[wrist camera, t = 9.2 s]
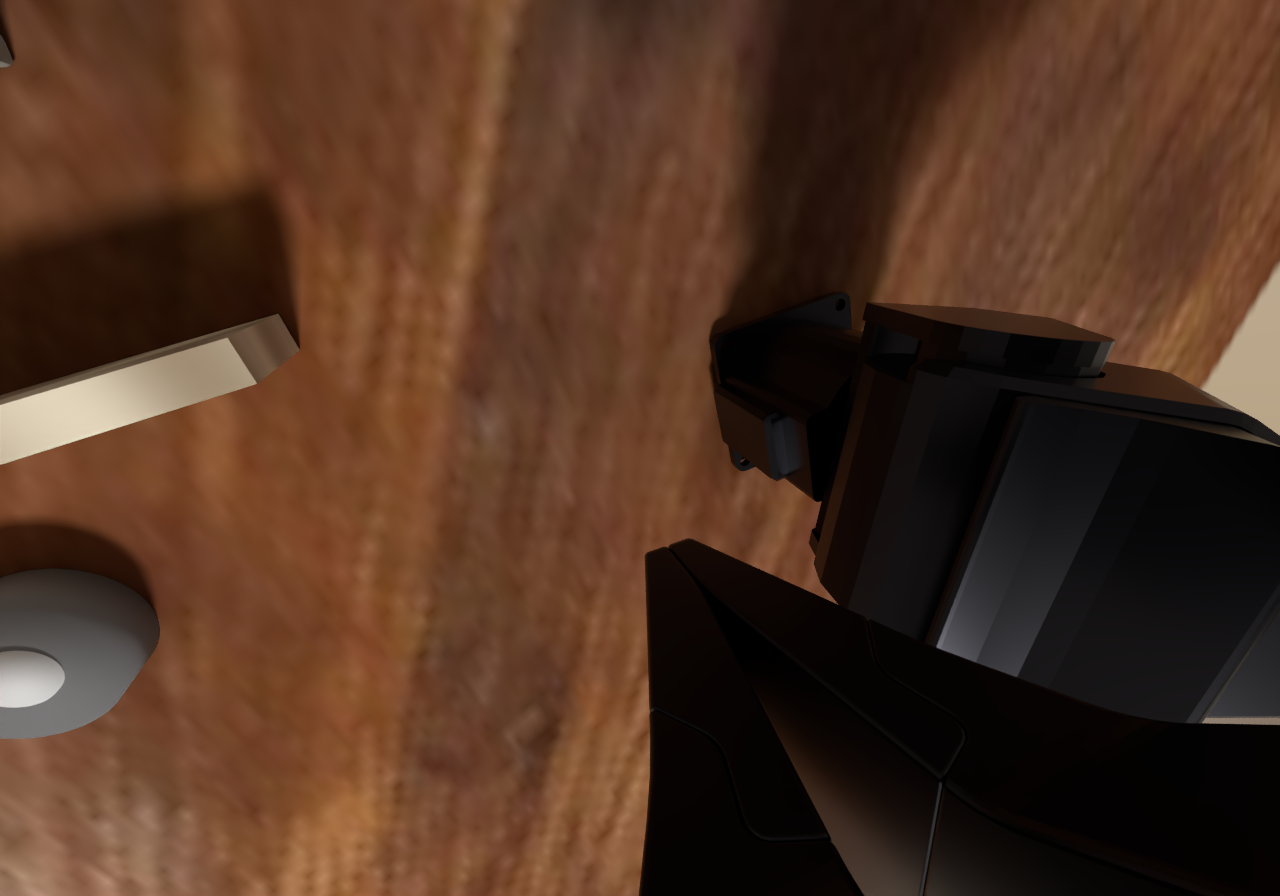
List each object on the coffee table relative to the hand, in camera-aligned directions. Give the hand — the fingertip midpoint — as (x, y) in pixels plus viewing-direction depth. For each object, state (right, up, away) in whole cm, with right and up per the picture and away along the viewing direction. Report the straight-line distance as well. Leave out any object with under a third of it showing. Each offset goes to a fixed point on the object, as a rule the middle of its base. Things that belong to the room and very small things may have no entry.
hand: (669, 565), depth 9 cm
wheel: (-20, -4, +8) cm, 22 cm away
